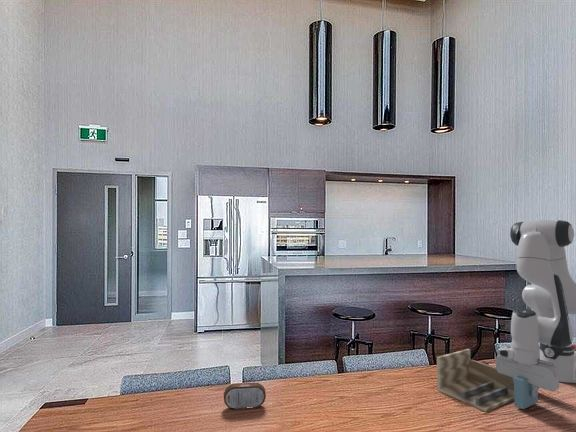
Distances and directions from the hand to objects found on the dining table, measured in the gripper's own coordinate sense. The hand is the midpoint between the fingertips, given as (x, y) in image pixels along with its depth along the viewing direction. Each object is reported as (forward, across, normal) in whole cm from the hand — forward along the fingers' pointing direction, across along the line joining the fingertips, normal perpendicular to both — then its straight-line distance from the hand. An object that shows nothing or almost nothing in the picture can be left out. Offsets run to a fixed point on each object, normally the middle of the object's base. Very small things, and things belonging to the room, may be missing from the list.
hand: (526, 393), depth 134 cm
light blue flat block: (+4, 0, 0) cm, 4 cm away
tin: (+4, +50, +88) cm, 102 cm away
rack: (+4, +15, +7) cm, 17 cm away
